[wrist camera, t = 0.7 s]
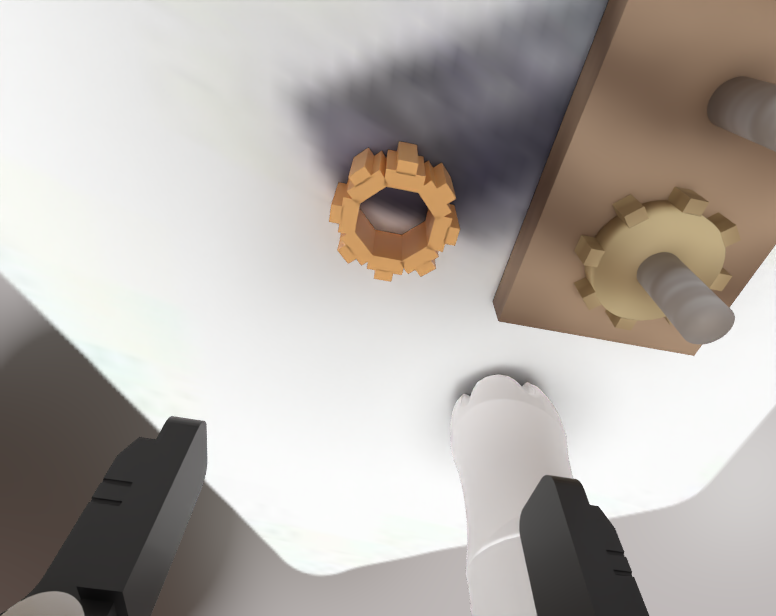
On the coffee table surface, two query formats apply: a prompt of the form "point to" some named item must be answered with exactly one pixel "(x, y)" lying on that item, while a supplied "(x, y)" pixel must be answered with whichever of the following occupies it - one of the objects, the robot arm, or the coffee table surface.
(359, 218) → the gear
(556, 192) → the gear board
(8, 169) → the coffee table surface
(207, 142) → the coffee table surface
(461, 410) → the water bottle
